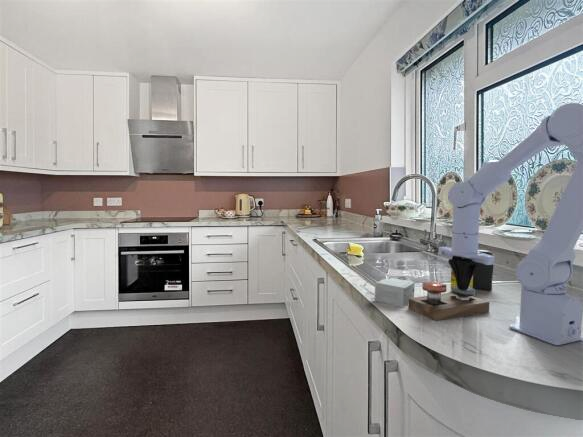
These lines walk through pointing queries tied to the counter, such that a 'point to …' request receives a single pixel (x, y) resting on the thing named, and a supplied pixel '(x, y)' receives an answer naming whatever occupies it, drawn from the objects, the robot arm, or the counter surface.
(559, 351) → the counter surface
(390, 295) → the small box
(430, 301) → the copper knob
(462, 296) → the grey metal knob
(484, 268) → the battery charger
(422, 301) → the walnut block
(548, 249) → the robot arm
